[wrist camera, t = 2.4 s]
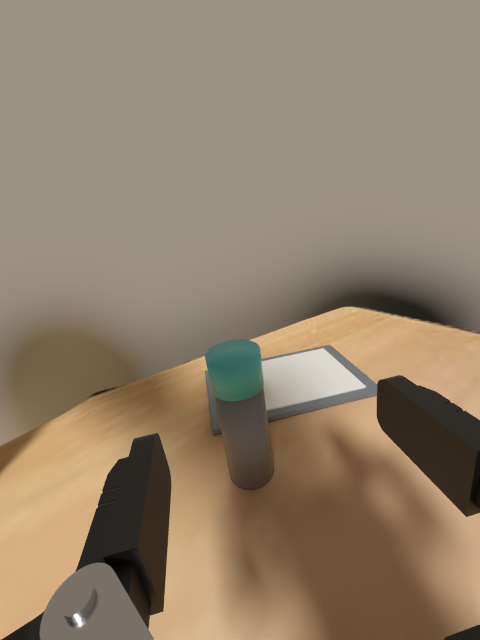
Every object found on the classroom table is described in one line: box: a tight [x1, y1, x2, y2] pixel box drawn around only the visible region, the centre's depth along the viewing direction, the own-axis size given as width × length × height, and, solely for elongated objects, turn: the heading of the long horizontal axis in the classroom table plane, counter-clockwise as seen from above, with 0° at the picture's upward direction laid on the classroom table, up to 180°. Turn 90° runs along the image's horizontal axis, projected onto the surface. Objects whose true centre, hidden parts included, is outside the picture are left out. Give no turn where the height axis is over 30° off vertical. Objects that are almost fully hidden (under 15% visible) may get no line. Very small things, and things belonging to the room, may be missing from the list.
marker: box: [205, 340, 274, 490], centre depth 23 cm, size 4×4×12 cm
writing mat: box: [205, 345, 377, 435], centre depth 37 cm, size 20×13×1 cm, turn 100°
